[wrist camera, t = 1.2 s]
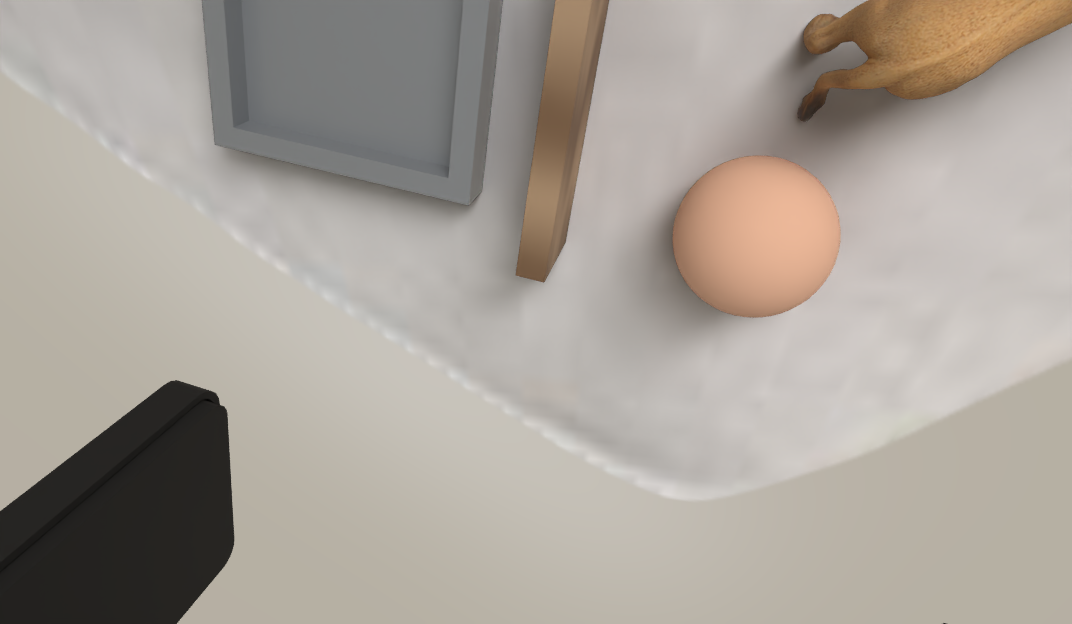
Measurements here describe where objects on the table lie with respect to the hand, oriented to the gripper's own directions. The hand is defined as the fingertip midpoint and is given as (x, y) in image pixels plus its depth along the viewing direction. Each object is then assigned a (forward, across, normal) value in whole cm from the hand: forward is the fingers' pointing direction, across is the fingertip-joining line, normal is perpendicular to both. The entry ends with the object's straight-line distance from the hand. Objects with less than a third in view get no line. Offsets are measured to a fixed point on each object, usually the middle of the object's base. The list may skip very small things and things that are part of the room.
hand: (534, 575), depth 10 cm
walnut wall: (+23, +5, -1) cm, 23 cm away
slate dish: (+23, +14, -2) cm, 27 cm away
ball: (+23, -4, +2) cm, 24 cm away
